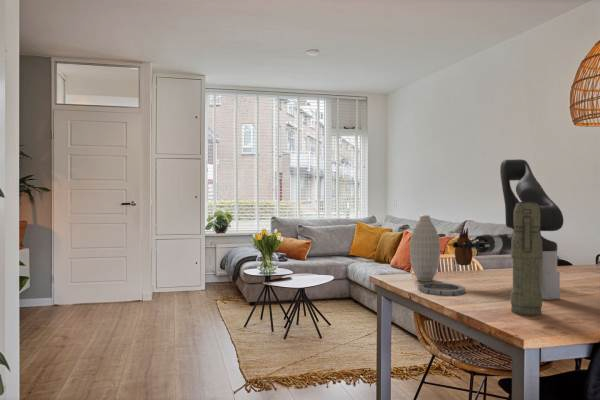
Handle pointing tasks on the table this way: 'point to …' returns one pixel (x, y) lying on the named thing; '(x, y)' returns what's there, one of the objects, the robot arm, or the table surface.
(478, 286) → the table surface
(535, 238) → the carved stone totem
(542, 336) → the table surface
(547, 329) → the table surface
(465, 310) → the table surface
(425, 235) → the vase
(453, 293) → the steel ring
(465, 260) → the wooden figurine
